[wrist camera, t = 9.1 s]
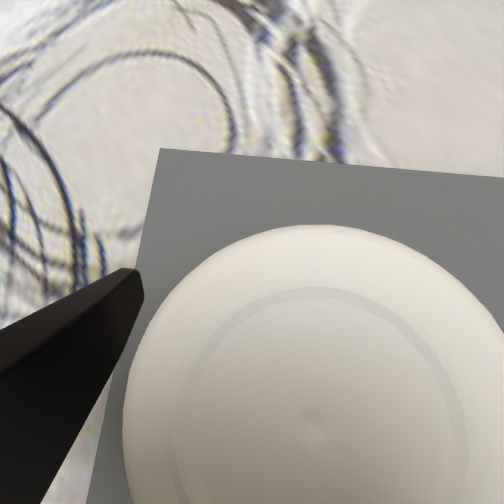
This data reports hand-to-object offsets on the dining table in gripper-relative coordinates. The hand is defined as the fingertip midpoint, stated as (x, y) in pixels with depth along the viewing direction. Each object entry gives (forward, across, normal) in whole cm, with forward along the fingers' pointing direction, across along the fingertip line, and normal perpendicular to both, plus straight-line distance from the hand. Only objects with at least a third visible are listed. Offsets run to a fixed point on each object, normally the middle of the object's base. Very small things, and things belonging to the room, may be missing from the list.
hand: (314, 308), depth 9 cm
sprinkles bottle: (+5, 0, +7) cm, 9 cm away
